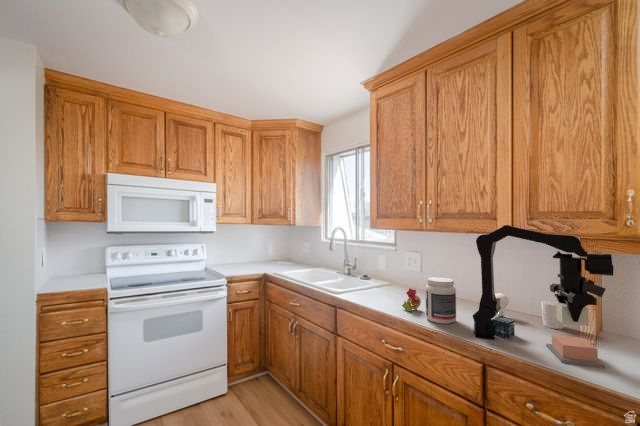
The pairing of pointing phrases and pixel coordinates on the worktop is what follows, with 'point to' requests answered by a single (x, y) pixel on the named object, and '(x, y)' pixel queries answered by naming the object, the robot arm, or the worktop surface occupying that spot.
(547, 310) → the white cup
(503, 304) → the light bulb
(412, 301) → the bird rattle
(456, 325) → the worktop surface
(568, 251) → the robot arm
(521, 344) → the worktop surface
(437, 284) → the supplement tub
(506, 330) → the puzzle
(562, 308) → the sage brick
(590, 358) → the brick base
